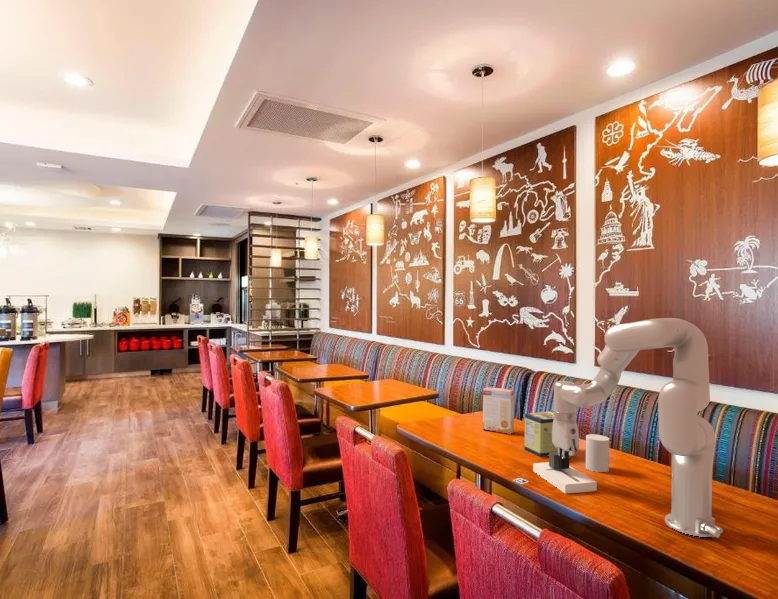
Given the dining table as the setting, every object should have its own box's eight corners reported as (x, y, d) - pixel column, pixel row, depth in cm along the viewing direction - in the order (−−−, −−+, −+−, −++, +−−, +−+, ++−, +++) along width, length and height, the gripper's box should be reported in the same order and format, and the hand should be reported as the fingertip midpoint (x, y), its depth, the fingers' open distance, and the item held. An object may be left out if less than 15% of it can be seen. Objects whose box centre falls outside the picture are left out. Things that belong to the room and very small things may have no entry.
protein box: (569, 453, 191) (570, 416, 191) (540, 457, 185) (540, 419, 185) (552, 445, 201) (552, 410, 201) (523, 449, 195) (524, 413, 195)
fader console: (596, 490, 152) (596, 481, 152) (565, 493, 150) (565, 484, 150) (561, 469, 172) (561, 460, 172) (533, 471, 169) (533, 462, 169)
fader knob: (566, 468, 164) (566, 454, 164) (553, 469, 162) (553, 455, 162) (561, 465, 166) (561, 451, 166) (549, 466, 165) (549, 452, 165)
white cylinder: (611, 473, 168) (611, 441, 168) (588, 471, 170) (588, 439, 170) (605, 465, 176) (606, 435, 176) (583, 464, 178) (583, 433, 178)
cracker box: (514, 432, 220) (514, 389, 220) (510, 435, 215) (511, 391, 215) (486, 427, 228) (487, 386, 228) (482, 430, 223) (483, 388, 223)
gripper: (587, 421, 154) (586, 475, 154) (561, 410, 169) (560, 459, 169) (568, 422, 152) (567, 476, 152) (543, 411, 167) (542, 461, 167)
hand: (563, 467), depth 161 cm, fingers closed
